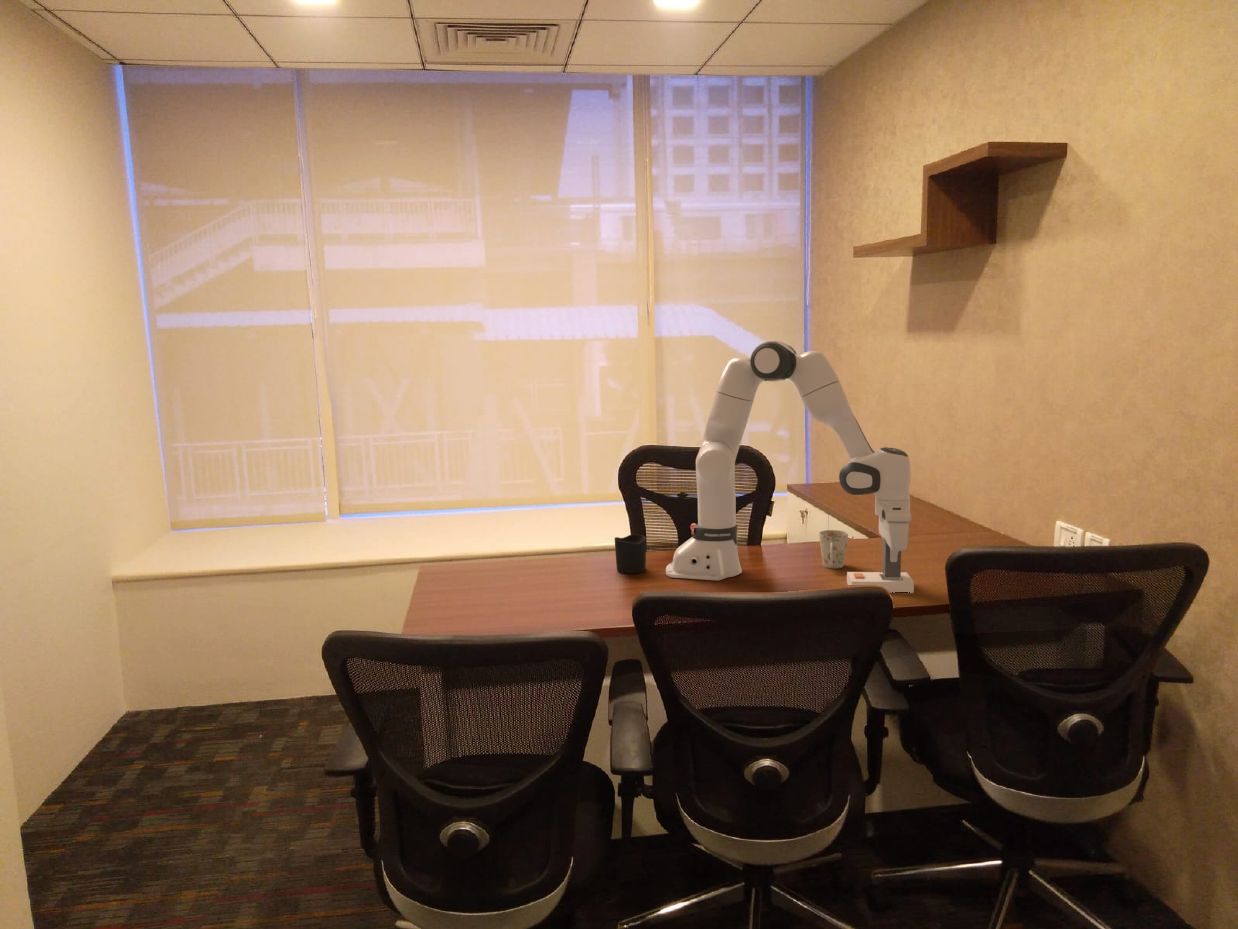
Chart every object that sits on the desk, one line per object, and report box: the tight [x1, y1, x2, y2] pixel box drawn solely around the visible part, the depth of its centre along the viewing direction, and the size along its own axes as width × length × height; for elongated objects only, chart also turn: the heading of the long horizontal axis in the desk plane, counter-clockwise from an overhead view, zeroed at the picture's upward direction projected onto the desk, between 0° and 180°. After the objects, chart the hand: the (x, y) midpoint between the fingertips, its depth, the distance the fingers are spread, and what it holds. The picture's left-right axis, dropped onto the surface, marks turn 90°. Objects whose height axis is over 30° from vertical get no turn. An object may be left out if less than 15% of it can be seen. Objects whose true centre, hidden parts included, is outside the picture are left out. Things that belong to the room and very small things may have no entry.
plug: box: [881, 537, 902, 577], centre depth 217 cm, size 4×4×10 cm
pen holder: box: [614, 534, 647, 575], centre depth 243 cm, size 9×9×10 cm
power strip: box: [846, 571, 915, 594], centre depth 219 cm, size 16×9×4 cm, turn 82°
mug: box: [818, 529, 849, 569], centre depth 238 cm, size 8×13×10 cm, turn 164°
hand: (891, 558), depth 217 cm, fingers closed on plug, 4 cm apart
